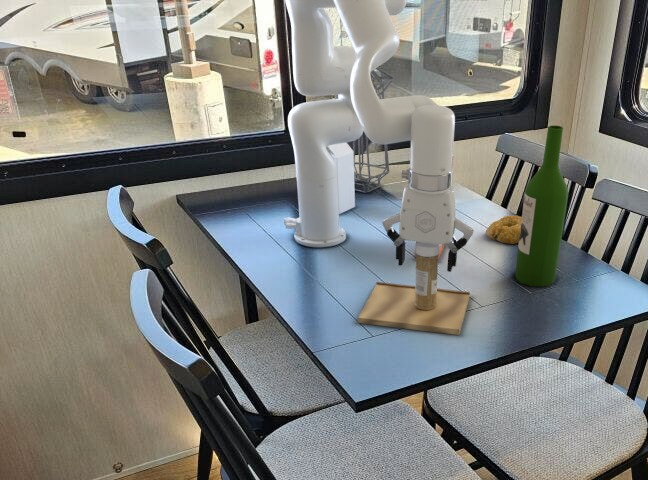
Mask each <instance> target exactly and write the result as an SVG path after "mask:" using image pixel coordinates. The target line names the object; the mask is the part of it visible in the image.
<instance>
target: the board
mask: <svg viewBox="0 0 648 480" xmlns="http://www.w3.org/2000/svg"><path fill="white" fill-rule="evenodd" d="M415 294H416V291H415V285H411V284H409V285H408V284H401V283H400V284H399V283H392V282H382V281H376V283H375V286H374V287H373V289H372V291H371V293H370V295H369V297H368V298H367V301H365V303H364V306H363V307H362V310H361V311H360V313H359V315H358V317H357V324H364V325H372V326H380V327H387V328H389V327H390V328H397V329H406V330H414V331H422V332H429V333H438V334H439V333H440V334H447V335H448V334H449V335H457V336H460V333H461V329H462V326H463V322H464V319H465V316H466V313H467V309H468V305H469V302H470V298H471V292H470V291H465V290H454V289H448V288H447V289H445V288H439V287H437V295H436V303H437V305H436V307H435V308H433V309H431V310H421V309H419V308H417V307H416V306H415Z"/></svg>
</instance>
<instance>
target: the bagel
mask: <svg viewBox="0 0 648 480" xmlns="http://www.w3.org/2000/svg"><path fill="white" fill-rule="evenodd" d="M521 220H522V216H520V215H512V214H511V215H505V216H503V217H501V218H500V219H498V220H495V221H494V222H492V223H490V225H489V226H488V227H487V228H486V229H485V235H486V236H487V237H488V238H489V239H491V240H494V241H498V242H500V243H502V244H508V245H514V244H519V237H520V229H521Z"/></svg>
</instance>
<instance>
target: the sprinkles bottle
mask: <svg viewBox="0 0 648 480" xmlns="http://www.w3.org/2000/svg"><path fill="white" fill-rule="evenodd" d="M415 248H416V255H417V256H416V259H415V260H416V261H415V280H414V281H415V282H414V283H415V284H414V286H415V291H416V294H415V306H416V307H417V308H419V309H421V310H431V309H433V308H435V307H436V305H437V303H436V295H437V288H438V274H439V273H438V272H439V269H438V267H439V266H438V265H439V259H438V255H439V248H440V245H439V244H432V243H423V242H417V243H416V242H415Z"/></svg>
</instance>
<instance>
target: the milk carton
mask: <svg viewBox="0 0 648 480" xmlns="http://www.w3.org/2000/svg"><path fill="white" fill-rule="evenodd" d="M326 149H327V151H328V152H329V154H330V155H331V156H332V157H333V159H334V160H335V162H336V165H337V178H338V204H339V215H341V214H344V213H345V212H347V211H350V210H351V209H354V208H356V196H355V195H356V193H355V191H356V190H355V189H356V188H355V184H354V181H355V179H354V177H355V176H354V175H355V168H354V151H353V148H352V147H351V146H350V145H349V143H348V142H346V143H340V144H333V145H329V146H327V147H326Z"/></svg>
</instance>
